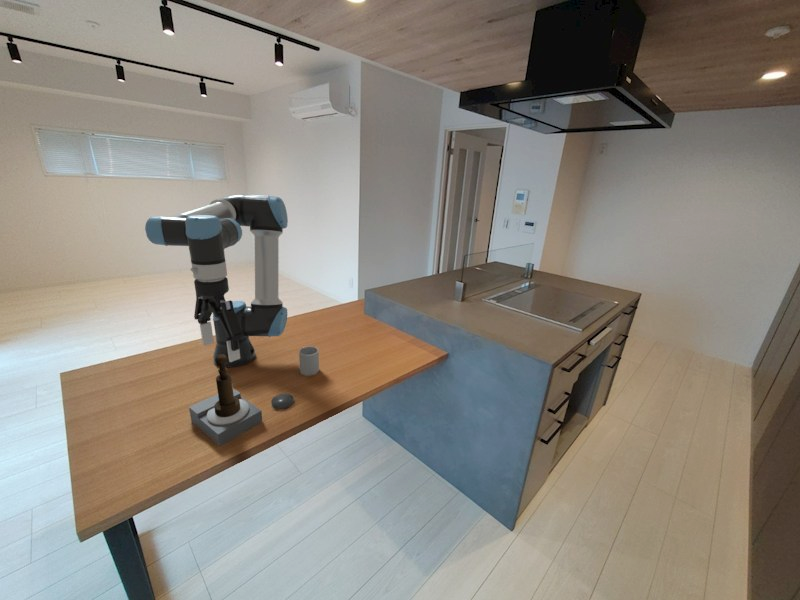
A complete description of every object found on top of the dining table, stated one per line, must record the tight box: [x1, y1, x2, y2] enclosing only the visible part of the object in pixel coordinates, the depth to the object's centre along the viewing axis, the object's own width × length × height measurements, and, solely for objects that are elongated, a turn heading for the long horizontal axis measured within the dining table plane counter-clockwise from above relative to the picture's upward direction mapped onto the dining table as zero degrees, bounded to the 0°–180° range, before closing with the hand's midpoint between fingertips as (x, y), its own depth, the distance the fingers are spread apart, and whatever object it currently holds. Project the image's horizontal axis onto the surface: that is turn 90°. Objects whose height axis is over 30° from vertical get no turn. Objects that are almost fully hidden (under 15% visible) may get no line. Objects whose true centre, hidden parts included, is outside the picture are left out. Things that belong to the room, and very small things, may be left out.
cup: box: [298, 345, 320, 377], centre depth 129 cm, size 7×10×9 cm
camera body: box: [188, 388, 263, 447], centre depth 100 cm, size 16×13×5 cm
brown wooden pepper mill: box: [214, 354, 240, 417], centre depth 95 cm, size 7×6×18 cm
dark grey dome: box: [270, 392, 295, 411], centre depth 110 cm, size 7×7×1 cm
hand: (221, 351), depth 92 cm, fingers open, 13 cm apart
